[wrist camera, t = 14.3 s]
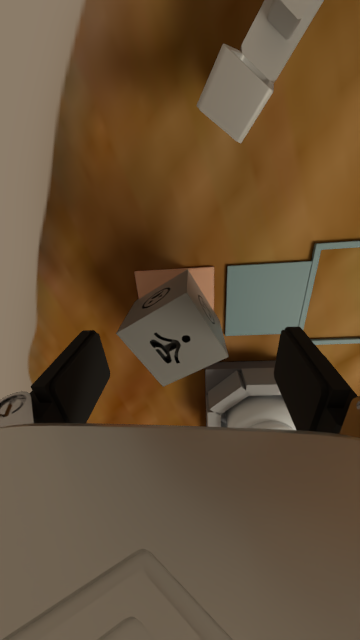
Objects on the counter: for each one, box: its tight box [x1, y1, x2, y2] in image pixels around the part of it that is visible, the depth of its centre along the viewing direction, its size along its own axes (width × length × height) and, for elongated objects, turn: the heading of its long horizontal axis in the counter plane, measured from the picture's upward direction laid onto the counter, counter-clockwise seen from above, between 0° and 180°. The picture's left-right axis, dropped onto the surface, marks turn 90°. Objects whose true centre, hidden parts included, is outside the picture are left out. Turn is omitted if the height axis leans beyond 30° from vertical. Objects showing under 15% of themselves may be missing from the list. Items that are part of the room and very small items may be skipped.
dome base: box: [205, 360, 281, 427], centre depth 21 cm, size 10×10×3 cm
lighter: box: [197, 0, 324, 143], centre depth 8 cm, size 7×2×8 cm, turn 148°
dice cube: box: [116, 269, 229, 386], centre depth 15 cm, size 5×5×5 cm
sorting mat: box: [134, 241, 360, 345], centre depth 17 cm, size 21×8×1 cm, turn 94°
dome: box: [225, 395, 296, 430], centre depth 19 cm, size 6×6×4 cm
